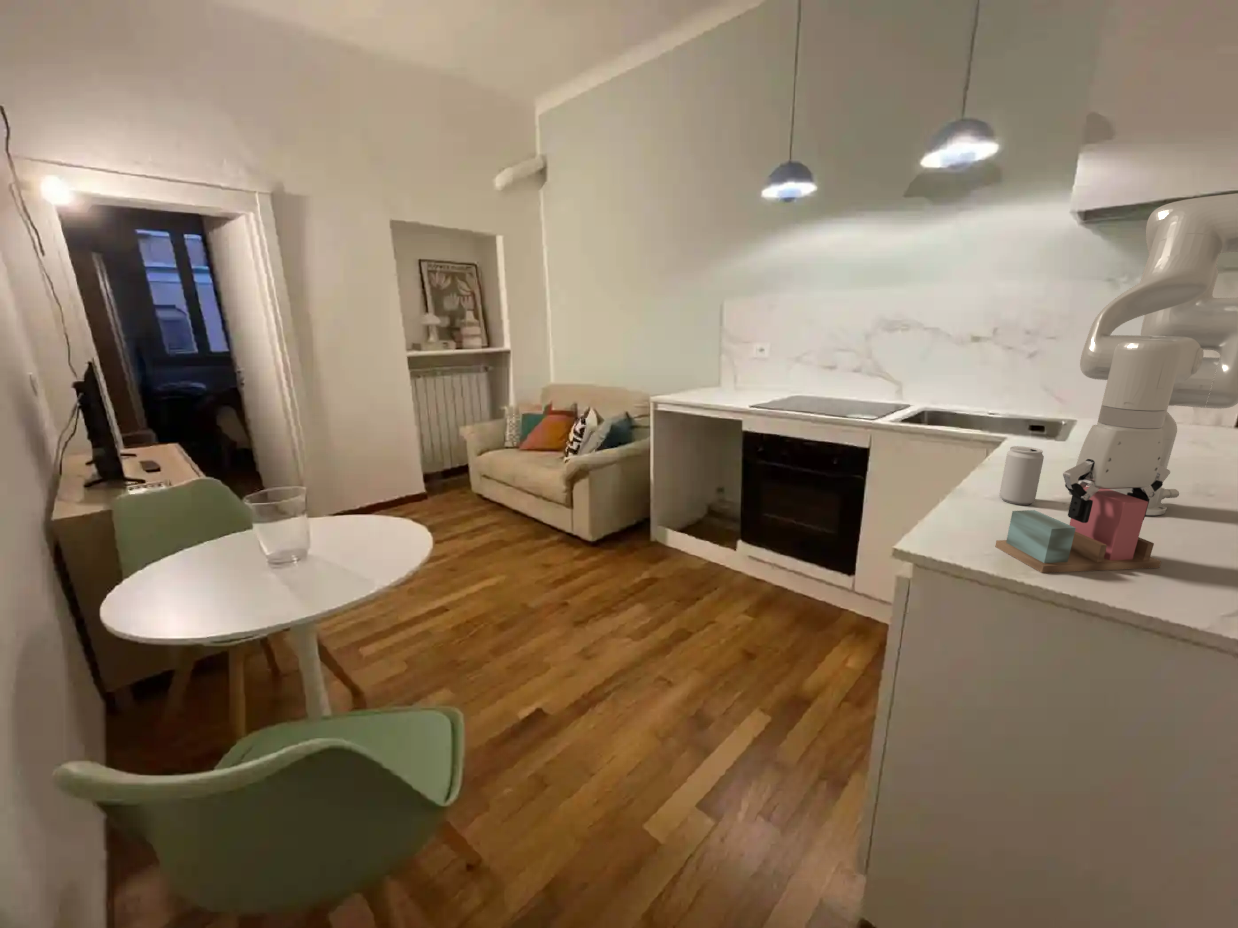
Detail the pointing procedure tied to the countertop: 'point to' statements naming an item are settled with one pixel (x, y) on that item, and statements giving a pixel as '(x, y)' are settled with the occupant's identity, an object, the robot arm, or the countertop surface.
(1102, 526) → the dusty red block
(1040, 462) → the beverage can
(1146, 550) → the rack
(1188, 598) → the countertop surface
